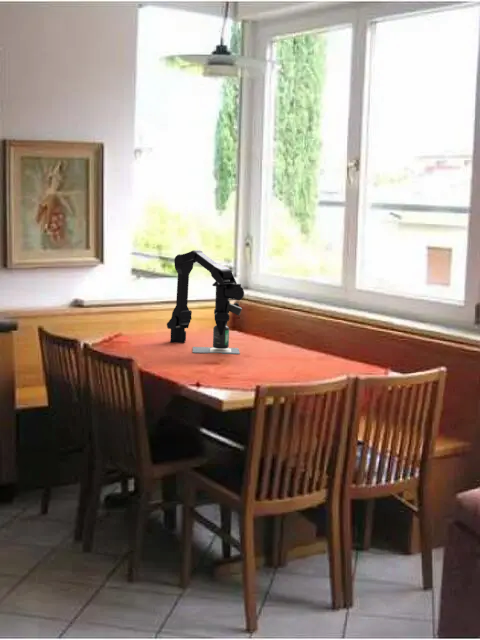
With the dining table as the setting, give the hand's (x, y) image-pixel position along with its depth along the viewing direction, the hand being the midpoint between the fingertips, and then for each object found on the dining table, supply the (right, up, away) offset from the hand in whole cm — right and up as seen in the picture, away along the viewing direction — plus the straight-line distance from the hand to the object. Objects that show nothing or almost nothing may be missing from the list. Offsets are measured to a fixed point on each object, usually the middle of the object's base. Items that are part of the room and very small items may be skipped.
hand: (221, 333), depth 407 cm
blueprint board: (-2, -7, +1) cm, 8 cm away
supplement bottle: (0, -6, +1) cm, 6 cm away
